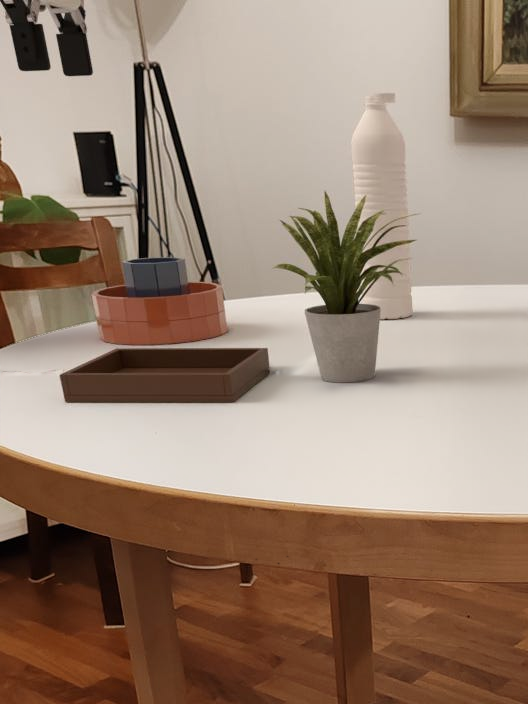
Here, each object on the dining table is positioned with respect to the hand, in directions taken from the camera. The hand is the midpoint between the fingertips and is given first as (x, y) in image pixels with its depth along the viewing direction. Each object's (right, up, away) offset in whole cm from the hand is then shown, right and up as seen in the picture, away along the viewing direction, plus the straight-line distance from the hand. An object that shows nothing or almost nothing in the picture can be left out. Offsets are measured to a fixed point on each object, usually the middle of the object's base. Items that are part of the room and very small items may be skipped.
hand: (57, 73), depth 104 cm
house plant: (+33, -36, -11) cm, 50 cm away
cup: (+8, -25, +10) cm, 28 cm away
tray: (+16, -37, -13) cm, 42 cm away
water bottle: (+33, -19, +22) cm, 44 cm away
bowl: (+8, -25, +10) cm, 28 cm away
